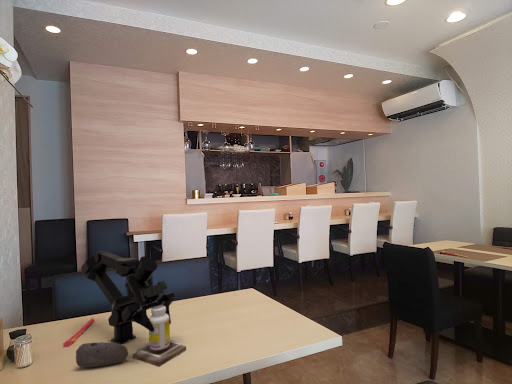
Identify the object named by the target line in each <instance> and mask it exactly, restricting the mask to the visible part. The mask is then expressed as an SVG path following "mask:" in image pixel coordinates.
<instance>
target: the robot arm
mask: <svg viewBox="0 0 512 384" xmlns="http://www.w3.org/2000/svg"><path fill="white" fill-rule="evenodd" d="M108 267H110V268H112V269H114V270H115V273H116V274H117V275H118V276H119V277H121V278H124V277H128V278H125V279H126V282H125V284H124V287H125V288H128V287H129V289H130V291H131V293H132V295H133V296H132V295H131V294H128V295H125V296H124V295H123V293H122V292H121V290H120V289H119V288H118V287H117V285H116V284H115V283H114V281H113V280H112V279H111V277H110V276H109V274H108V273H107V269H108ZM157 268H158V263H157V262H156V261H155V260H154V259H152V258H149V257H148V256H147V255H144V256H141V257H140V258H139V259H138V258H137V257H122V256H119V255H116V254H114V253H112V252H110V251H108V250H103V251H96V252H95V253H94V254H93V255H92V256H91V257H89V258H88V259H86V260H85V261H84V262H83V264H82V265H81V269H80V270H81V273H82V274H83V275H84V277H86V278H87V280H90V281H93V282H95V284H96V285H97V286H98V288H99V290H101V292H102V294H103V295H104V296H105V297H106V299H107V301H108V302H109V303H110V305H111V314H110V316H109V317H108V319H107V321H108V326H111V327H113V329H114V330H113V334H114V335H113V336H114V337H113V338H111V339H110V341H111V342H112V343H117V344H120V345H123V344H126V343H127V342H130V341H131V340H134V339H136V338H137V336H136V335H135V334H134V329H133V328H134V327H133V323H136V324H138V325H140V326H141V327H144V328H145V329H147V330H148V331H149V330H150V331H151V332H153V331H154V328H153V325H152V324H151V322H150V320H149V318H150V317H149V316H148V314H147V312H148V310H149V309H150V310H151V309H152V308H153V307H155V306H165V307H166V312H165V313H166V314H168V315H169V325H170V326H171V324H172V321H171V315H170V306H171V305H172V303H173V302H174V301H175V299H176V298H177V296H176V294H175V293H174V292H173V291H170V292H165V291H166V290H167V289H168V285H167V282H166V281H165V280H160V281H158V282H157V283H156V284H154V285H152V284H149V283H148V282H147V281H149V280H150V279H151V277H152V275H153V274H154V273H155V272H156V270H157ZM163 293H164V294H163ZM161 294H162V296H161V297H160V295H161ZM159 297H160V298H159ZM158 298H159V299H158Z"/></svg>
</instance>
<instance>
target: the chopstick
mask: <svg viewBox="0 0 512 384" xmlns="http://www.w3.org/2000/svg"><path fill="white" fill-rule="evenodd" d="M94 322H95V318H93V317H91V318H90V319H89V320H88V321H86V322H85V324H83V325H82V326H81V327H80V328H78V329H77V330H76V331H75V332H73V333H72V335H71V336H69V338H67V339H66V340H65V341H64V342H63V343H62V344H63V347H64V348H68V347H70V346H71V345H72V344H73V343H75V341H76V340H77V339H78V338H79V337H80V336H81V335H83V334H84V332H85V331H86V330H87V329H88V328H89V327H90V326H91V325H92V324H93V323H94Z"/></svg>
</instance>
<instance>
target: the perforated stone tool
mask: <svg viewBox="0 0 512 384" xmlns="http://www.w3.org/2000/svg"><path fill="white" fill-rule="evenodd" d="M128 356H129V351H128V348H127V347H126V346H124V345H123V344H119V343H116V342H104V341H103V342H102V341H101V342H87V343H82V344H81V345H79V346H78V348H77V349H76V350H75V362H76V365H77V366H78V367H80V368H97V367H104V366H105V367H106V366H110V365H116V364H118V363H122V362H123V361H125V360H126V359H127V358H128Z"/></svg>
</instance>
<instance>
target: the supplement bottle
mask: <svg viewBox="0 0 512 384" xmlns="http://www.w3.org/2000/svg"><path fill="white" fill-rule="evenodd" d="M150 311H151V315H150V316H149V317H148V318H149V320H150V322H151V324H152V325H153V328H154V331H153V332H151V331H150V330H148V340H149V341H148V342H149V344H148V345H150V348H151V349H152V350H162V349H165V348H167V347H168V346H169V345H170V341H171V331H170V330H171V329H170V326H171V324H170V325H169V315H168V314H166V313H165V312H166V307H165V306H155V307H153V308H150Z"/></svg>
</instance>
